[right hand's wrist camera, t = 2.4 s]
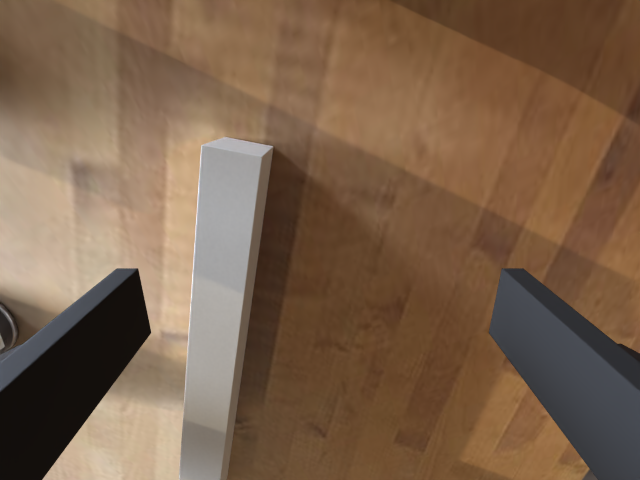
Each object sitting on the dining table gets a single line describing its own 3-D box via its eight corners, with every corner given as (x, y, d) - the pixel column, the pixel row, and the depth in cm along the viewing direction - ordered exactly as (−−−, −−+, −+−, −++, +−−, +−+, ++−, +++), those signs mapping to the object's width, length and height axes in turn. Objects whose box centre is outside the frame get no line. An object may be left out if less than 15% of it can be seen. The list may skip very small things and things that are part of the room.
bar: (225, 136, 36) (201, 145, 29) (273, 146, 36) (262, 156, 29) (194, 479, 54) (174, 537, 47) (226, 484, 55) (212, 541, 48)
